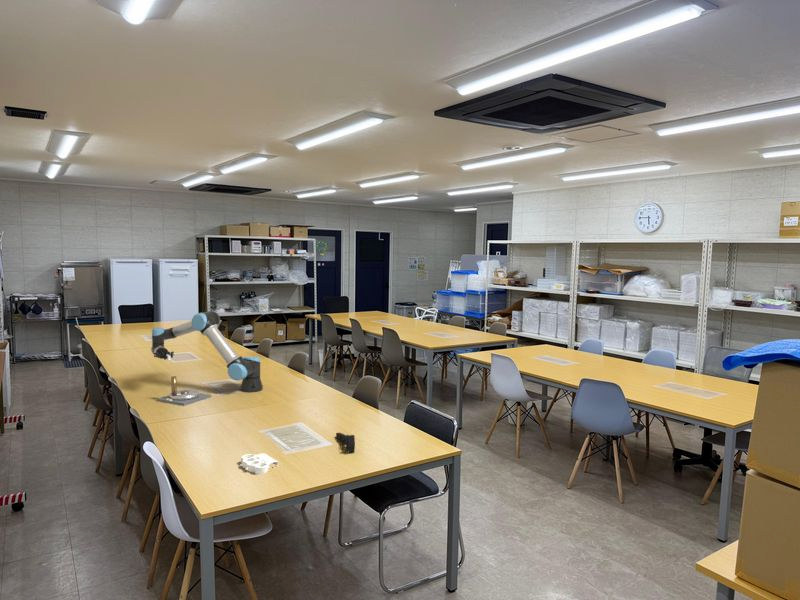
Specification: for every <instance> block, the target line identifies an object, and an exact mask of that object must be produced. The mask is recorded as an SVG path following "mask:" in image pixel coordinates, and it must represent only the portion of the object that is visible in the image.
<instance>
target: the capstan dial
mask: <svg viewBox="0 0 800 600" xmlns="http://www.w3.org/2000/svg"><path fill="white" fill-rule="evenodd" d="M170 379H171V380H170V381H171V383H170V384H171V388H170V389H171V392H170V393H169V394H168V395H169V398H170V399H173V400H188V399H193V398H197V397H199V393H200V391H199V390H196V389H181V390H178V389H177V388H178V385H177V376H175V375H173V376H171V377H170Z"/></svg>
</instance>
